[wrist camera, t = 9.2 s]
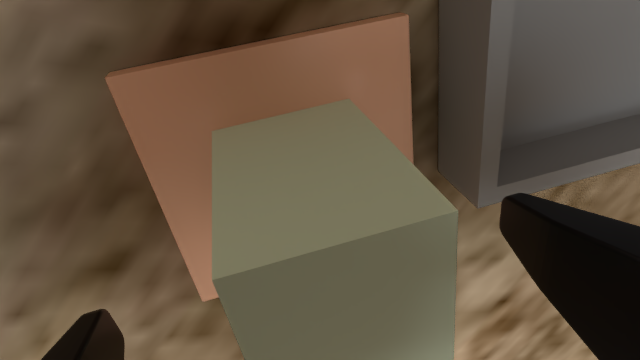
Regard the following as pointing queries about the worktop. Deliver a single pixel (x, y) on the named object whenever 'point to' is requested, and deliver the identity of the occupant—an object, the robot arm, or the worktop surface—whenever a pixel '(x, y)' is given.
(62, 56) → the worktop surface
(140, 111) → the coaster
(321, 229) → the sage block
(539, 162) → the bin
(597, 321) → the robot arm
